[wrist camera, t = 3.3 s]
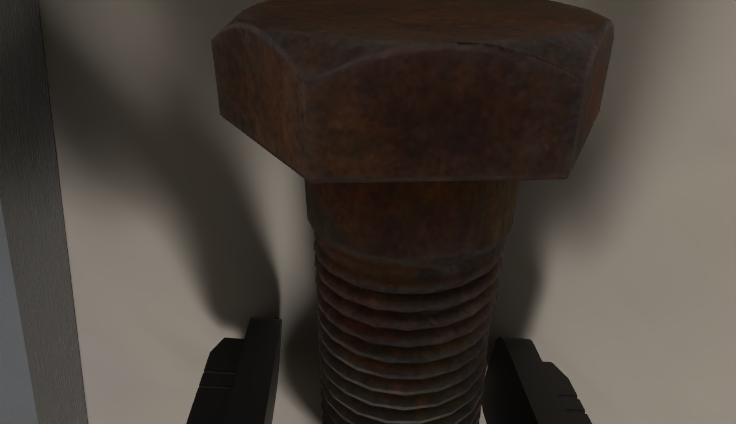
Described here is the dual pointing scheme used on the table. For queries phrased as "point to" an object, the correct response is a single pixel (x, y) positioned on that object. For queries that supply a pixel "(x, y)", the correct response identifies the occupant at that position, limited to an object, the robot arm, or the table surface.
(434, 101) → the bolt
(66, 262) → the plate
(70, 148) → the table surface
